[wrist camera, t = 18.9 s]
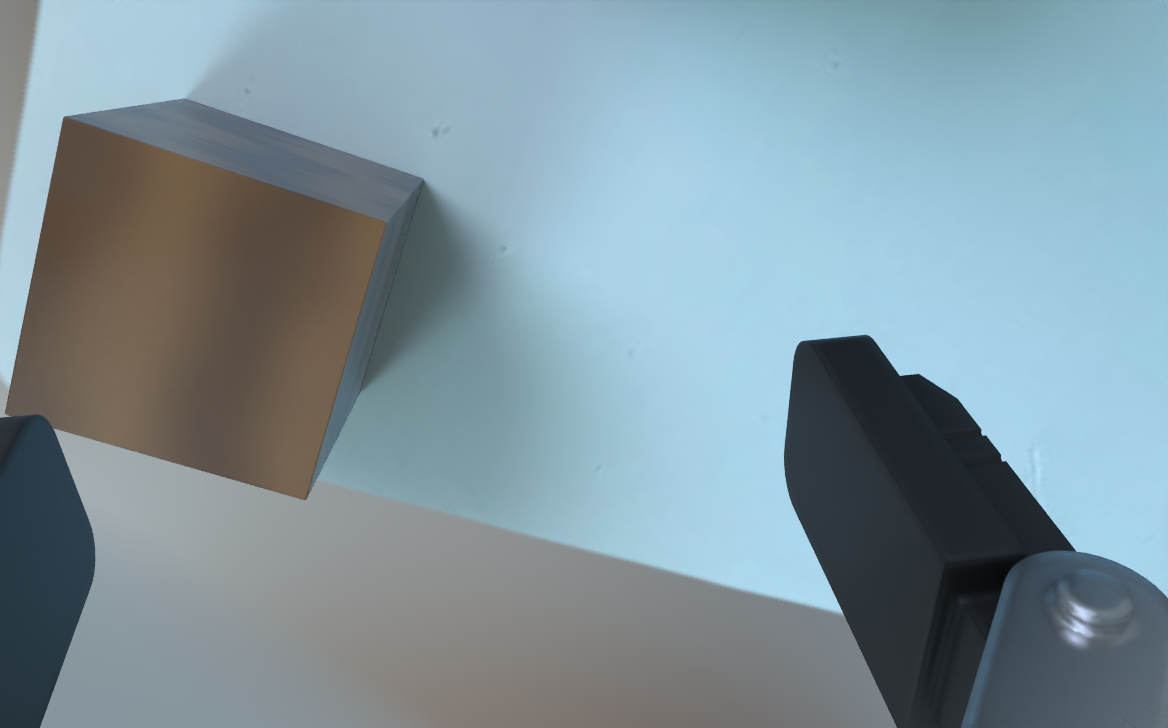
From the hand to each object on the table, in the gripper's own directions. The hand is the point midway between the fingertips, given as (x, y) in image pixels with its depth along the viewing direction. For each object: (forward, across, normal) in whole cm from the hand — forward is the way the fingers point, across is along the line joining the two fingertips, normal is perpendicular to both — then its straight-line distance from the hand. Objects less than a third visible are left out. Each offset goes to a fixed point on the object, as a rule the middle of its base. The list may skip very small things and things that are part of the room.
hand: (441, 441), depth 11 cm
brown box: (+27, +7, +11) cm, 30 cm away
